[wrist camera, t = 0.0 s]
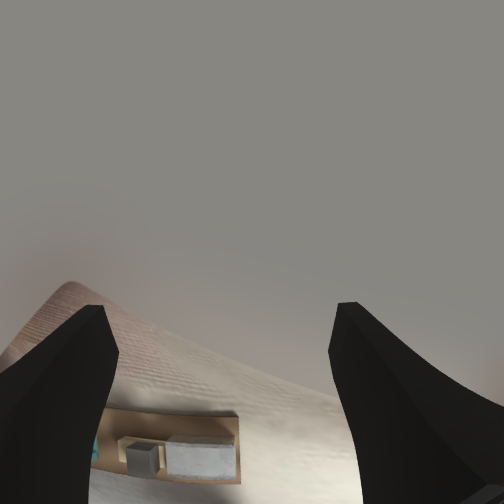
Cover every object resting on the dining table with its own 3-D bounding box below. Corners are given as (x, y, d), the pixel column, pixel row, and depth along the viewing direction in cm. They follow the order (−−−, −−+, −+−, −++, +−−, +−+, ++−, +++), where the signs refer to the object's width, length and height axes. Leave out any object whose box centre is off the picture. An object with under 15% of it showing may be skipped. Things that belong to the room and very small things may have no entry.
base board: (240, 481, 32) (240, 484, 31) (86, 463, 31) (82, 465, 30) (238, 416, 36) (238, 417, 35) (81, 402, 35) (77, 403, 34)
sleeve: (236, 468, 32) (235, 479, 28) (175, 465, 32) (167, 476, 27) (235, 435, 34) (234, 444, 30) (173, 434, 34) (165, 441, 29)
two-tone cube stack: (232, 466, 32) (230, 484, 25) (127, 457, 31) (107, 471, 24) (231, 441, 33) (228, 456, 26) (125, 434, 32) (104, 444, 26)
